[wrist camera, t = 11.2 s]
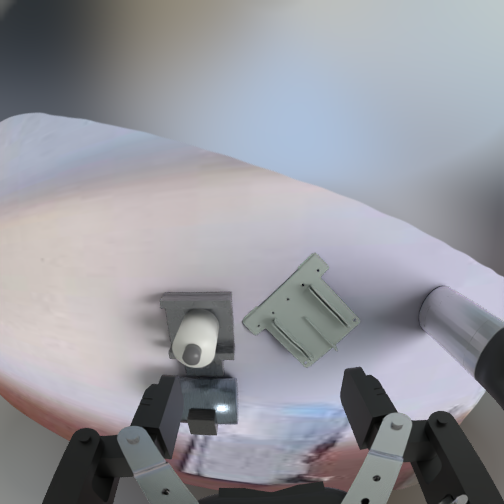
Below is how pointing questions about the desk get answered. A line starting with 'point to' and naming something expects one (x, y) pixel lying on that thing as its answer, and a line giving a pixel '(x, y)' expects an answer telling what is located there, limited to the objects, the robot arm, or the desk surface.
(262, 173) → the desk surface
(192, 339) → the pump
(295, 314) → the metal bracket
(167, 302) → the motor
